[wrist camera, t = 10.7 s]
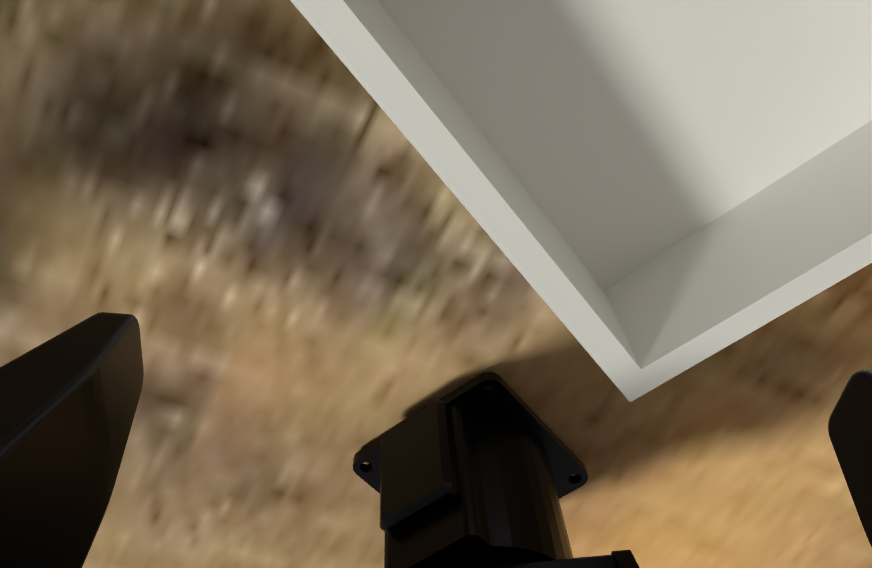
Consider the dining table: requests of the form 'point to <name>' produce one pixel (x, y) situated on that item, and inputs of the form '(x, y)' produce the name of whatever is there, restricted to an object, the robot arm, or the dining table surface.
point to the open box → (638, 152)
